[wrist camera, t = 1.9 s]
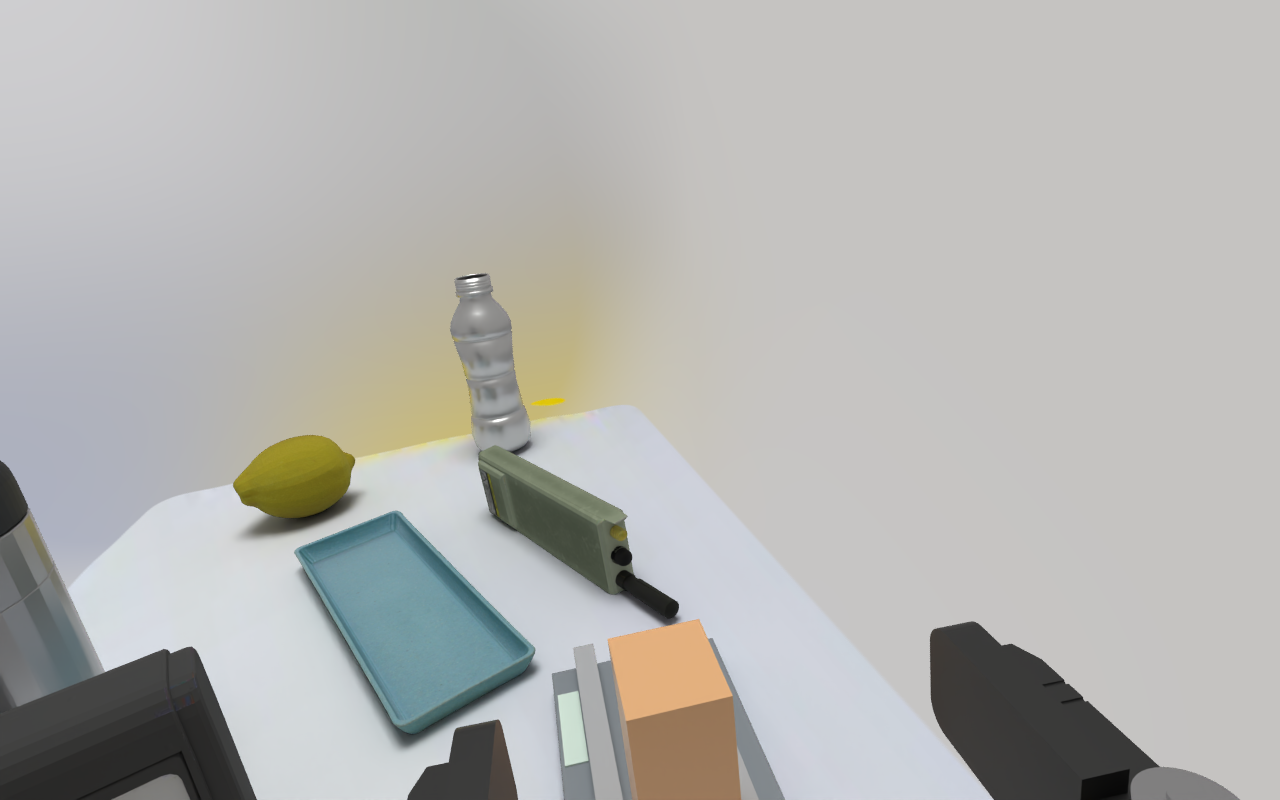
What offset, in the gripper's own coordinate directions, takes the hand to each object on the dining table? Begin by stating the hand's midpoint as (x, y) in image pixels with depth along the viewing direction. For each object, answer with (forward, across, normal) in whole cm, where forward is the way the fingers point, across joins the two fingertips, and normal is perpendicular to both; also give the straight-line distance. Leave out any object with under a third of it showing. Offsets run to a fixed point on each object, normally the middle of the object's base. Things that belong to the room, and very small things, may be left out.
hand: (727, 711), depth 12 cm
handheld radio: (+41, -4, -19) cm, 45 cm away
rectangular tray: (+37, -17, -19) cm, 45 cm away
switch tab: (+12, 0, -18) cm, 22 cm away
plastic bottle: (+66, -11, -17) cm, 69 cm away
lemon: (+57, -30, -17) cm, 67 cm away
